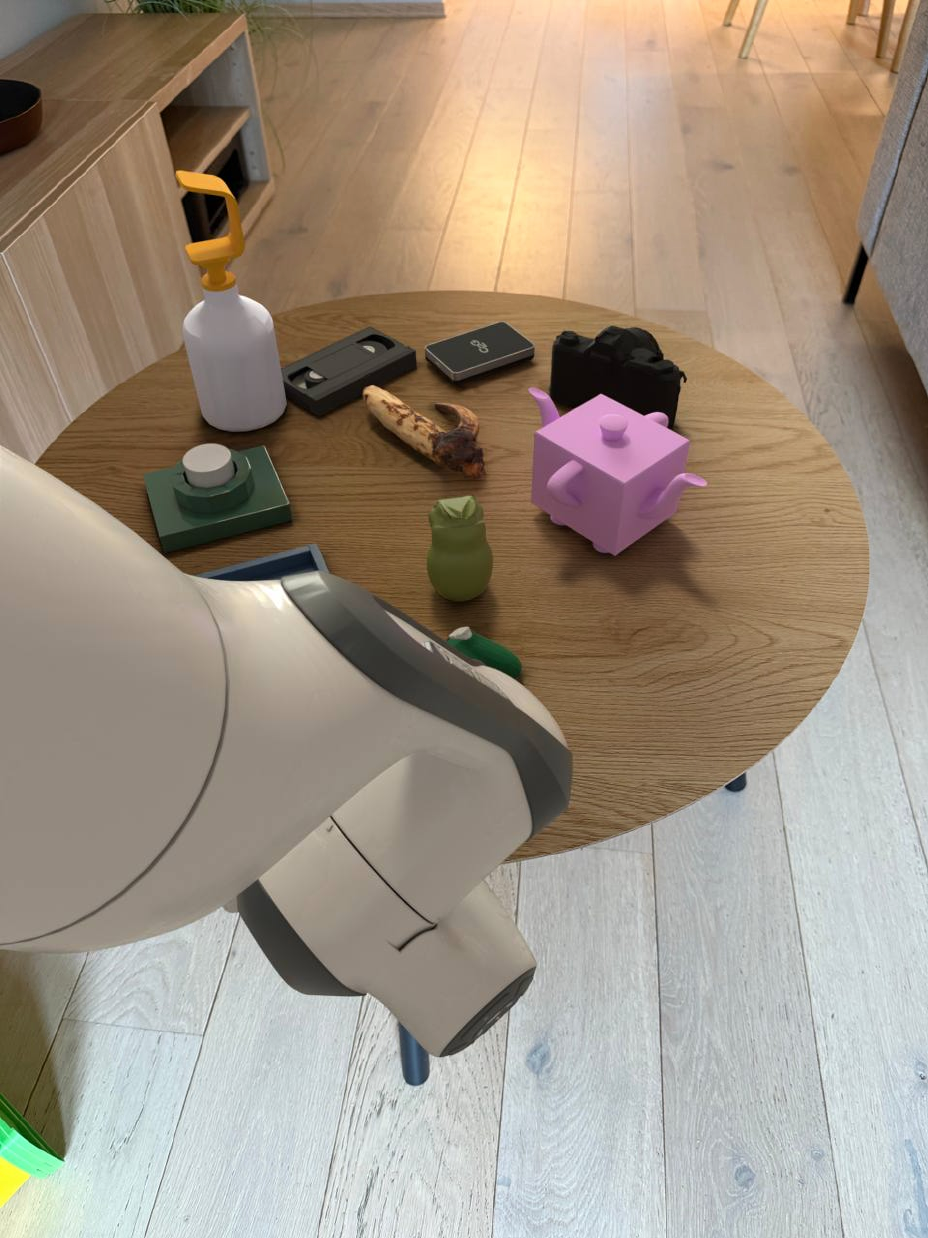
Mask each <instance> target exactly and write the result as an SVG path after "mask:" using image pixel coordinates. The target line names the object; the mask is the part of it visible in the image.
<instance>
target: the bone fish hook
mask: <svg viewBox="0 0 928 1238" xmlns="http://www.w3.org/2000/svg"><path fill="white" fill-rule="evenodd" d="M362 399H363V401H364V403H365V405H366V409H367V410H368V411H369V412H371V414H373V416H375V418H376V419H378V421H379V422H380V423H381V425H382V426H383V427H384V428H386V429H387V430H389V431H390V432H392V433H393V434H394V435H396V436H397V437H398V438H400V440H401V441H403V443H405V444H407V445H408V446H410V447H411V448H412V449H413V450H415V452H418V453H420V454H422V455H423V456H424V457H425V458H428V459H429V460H432V461H433V462H434V463H435V464H436V465H438V466H440V467H442V468H444V469H446V470H448V471H449V470H450V471H452V472H456V473H460V474H462V476H463V478H466V479H470V480H474V481H477V480H480V479H482V478H483V477H484V476H486V474H487V473H486V469H485V465H486V464H485V460H484V451H483V450H484V449H483V448H482V447H480V446H477V445H476V443H475V442H476V440H477V437H478V435H479V433H480V422H479V419H478V418H477V416H476V414H474V413H473V412H472V411H471V410H470V409H468V408H467V407H465V406H462V405H458V404H454V403H449V402H435V404H434V407H435V408H436V409H438V410H439V411H441V412H444V413H445V414H447V415H451V416H453V417H455V419H456V420H457V421H458V422H459V423H458V425H457V428H454V429H451V430H449V431H447V432H446V430H444V429H443V428H442V427H440V426H439V425H437V424H436V423H435V422H433V421H432V420H431V419H429V418H428V417H426V416H424V415H422V414H420V413H419V412H417V411H416V410H414V409H412V408H411V407H410V406H408V405H407V404H405V403H404V402H403V401H401V400H400V398H398V397H397V396H395V395H393V394H392V393H390V392H388V390H385V389H382V388H381V387H379V386H377V387H376V386H374V385H371V386H369V387H365V388H364V390H363V394H362Z"/></svg>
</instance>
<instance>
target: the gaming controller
mask: <svg viewBox="0 0 928 1238" xmlns="http://www.w3.org/2000/svg"><path fill="white" fill-rule="evenodd" d="M445 641H446V642H447V643H449V644H450V645H452V646H453V647H455V648H456V649H458V650H459V651H460V652H462V653H463V654H465V655H466V656H468V657H469V658H471V659H475V660H480V661H481V662H483V663H484V664H485V665H486V666H487V667H491V668H493V669H496V670H498V671H501V672H502V673H504V674H506V675H508V676H510V677H511V678H513V679H517V678H519V677H521V673H522V667H523V664H522V661H521V660H520V658H519V657H518V656H517V655H516V654H515V653H514V652H513V651H511V650H510V649H508V648H506V647H505V646H503V645H502V644H500V643H497V642H496V641H493V640H492V639H489V638H487V637H485V636H483V635H481V634H479V633H477V632H475V631H473V630H472V629H470V626H462V627H459V628H456V629H455V630H453V631H452V632H450V634H449V635H448V638H447V639H445Z"/></svg>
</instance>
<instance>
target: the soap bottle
mask: <svg viewBox="0 0 928 1238" xmlns="http://www.w3.org/2000/svg"><path fill="white" fill-rule="evenodd" d="M174 177H175V178H176V180H177V182H178V183H179V185H180V187H181V189H183V190H184V191H187V192H192V193H199V194H204V195H205V194H206V195H212V196H219V197H223V198H224V200H225V204H226V209H227V215H228V220H229V224H230V225H229V232H228V234H227V235H226V236H223V237H218V238H214V239H213V238H212V239H208V240H203V241H197V242H192V243H189V244H187V245H185V247H184V251H185V253H186V255H187V257H188V259H189V261H190V263H191V264H192V265H193V266H201V267H202V268H204V269H206V271H207V273H206V274H203V276H202V277H201V278H200V283H201V289H202V293H203V299H204V300H202V301H201V302H199V303H197V304H196V305H195V306H194V307H193V308H192V309H191V310H190V311H189V312H188V314H187V315H186V317H185V318H184V319H183V323H182V340H183V343H184V347H185V351H186V355H187V359H188V364H189V368H190V371H191V375H192V380H193V384H194V388H195V391H196V396H197V399H198V404H199V408H200V412H201V415H202V417H203V418H204V420H205V421H206V422H207V423H208V424H209V425H210V426H212V427H214V428H215V429H218V430H222V431H227V432H233V433H235V432H236V433H237V432H251V431H254V430H258V429H259V430H260V429H262V428H264V427H267V426H269V425H271V424H273V423H274V422H275V423H276V421H277V420H278V419H279V418H280V417H281V416H282V415H283V413H284V412H285V410H286V407H287V405H288V404H287V398H286V397H287V396H286V395H285V390H284V385H283V379H282V373H281V368H282V366H281V361H280V356H279V350H278V344H277V338H276V331H275V325H274V322H273V321H274V320H273V317H272V316H271V314H270V312H269V311H268V309H267V308H266V307H265V306H264V305H263V304H261V303H259V302H257V301H256V300H254V299H252V298H250V297H247V296H245V295H240V294H239V290H238V285H237V279H236V275H235V274H234V273H233V272H231V271H229V270H228V271H227V270H226V267H225V266H227V265H228V264H229V263H230V260H234V259H237V258H240V257H241V256H242V255H243V254H244V252H245V248H246V247H245V246H246V243H245V238H244V233H243V227H242V222H241V217H240V216H241V215H240V211H239V204H238V202H237V199H236V197H235V196H234V195H233V193H232V191H231V190H230V188H229V187H228V185H227V184H226V182H225V181H224V180H223V179H222V178H220V177H218V176H216V175H213V174H206V173H199V172H193V171H187V170H176V171H175V175H174Z"/></svg>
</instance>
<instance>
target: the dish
mask: <svg viewBox="0 0 928 1238" xmlns="http://www.w3.org/2000/svg"><path fill="white" fill-rule="evenodd" d="M313 571H322V572H326V573H329V574H331V572H330V570H329V568H328V566H327V564H326V561H325V559H324V557H323V554H322V553H321V550H320V547H319V546H318V544H317V543H316V542H314V543H312V544H308V545H304V546H300V547H295V548H293V549H289V550H285V551H281V552H276V553H274V554H269V555H266V556H263V557H259V558H255V559H251V560H247V561H243V562H240V563H236V564H232V565H228V566H225V567H220V568H217V569H215V570H214V569H213V570H209V571H206V572H203V573H198V574H195V575H193V576H196V577H200V578H206V579H214V580H223V581H266V580H281V578H282V577H285V576H291V575H296V574H302V573H308V572H313Z"/></svg>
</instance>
